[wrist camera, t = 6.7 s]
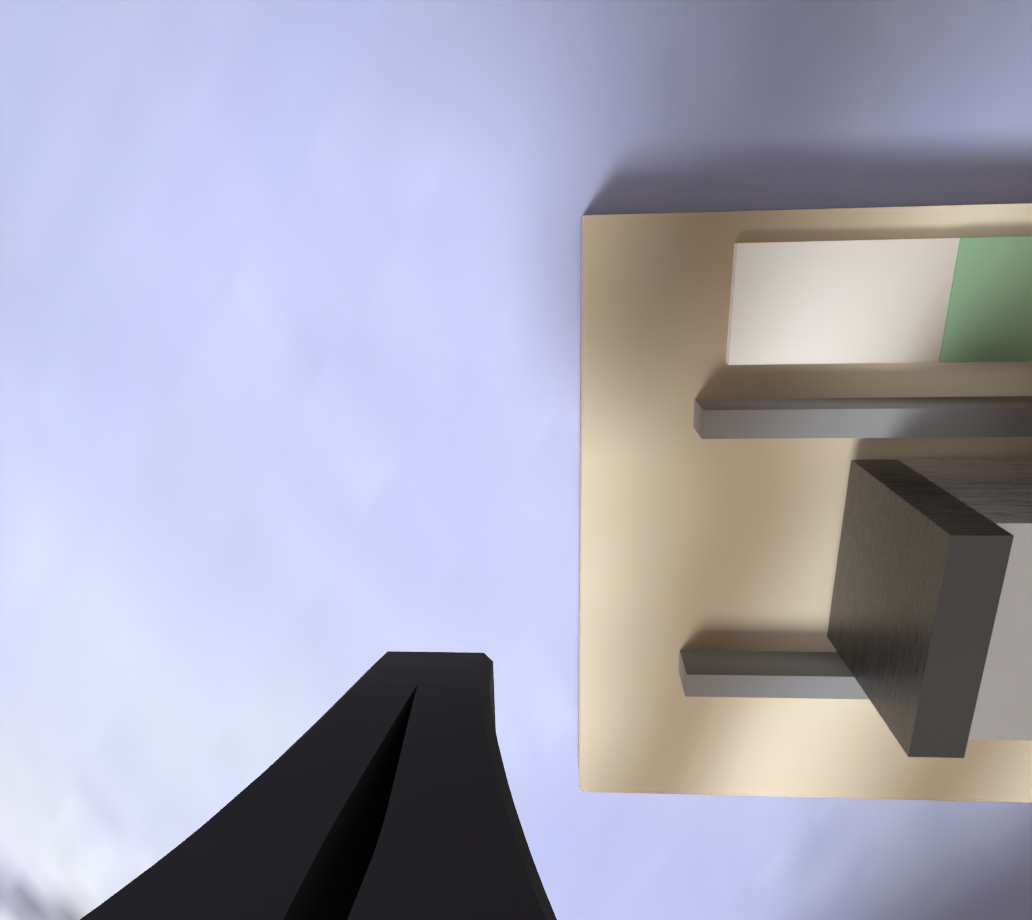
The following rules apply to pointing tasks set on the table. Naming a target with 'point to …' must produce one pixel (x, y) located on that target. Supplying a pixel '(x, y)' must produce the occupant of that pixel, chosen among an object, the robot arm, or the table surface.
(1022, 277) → the bench
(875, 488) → the block with upright rod
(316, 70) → the table surface
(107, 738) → the table surface
